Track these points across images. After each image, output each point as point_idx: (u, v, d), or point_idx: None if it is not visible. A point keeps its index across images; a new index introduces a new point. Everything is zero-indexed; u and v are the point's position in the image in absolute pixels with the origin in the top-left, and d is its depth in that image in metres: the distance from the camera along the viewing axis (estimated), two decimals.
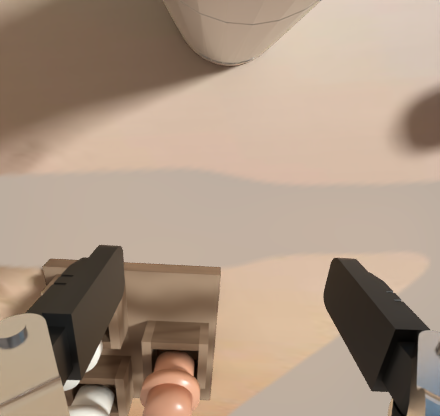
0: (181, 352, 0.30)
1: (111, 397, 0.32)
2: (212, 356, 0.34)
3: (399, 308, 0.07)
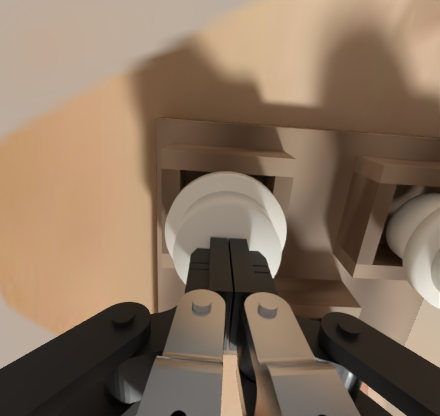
0: None
1: None
2: None
3: (252, 276, 0.08)
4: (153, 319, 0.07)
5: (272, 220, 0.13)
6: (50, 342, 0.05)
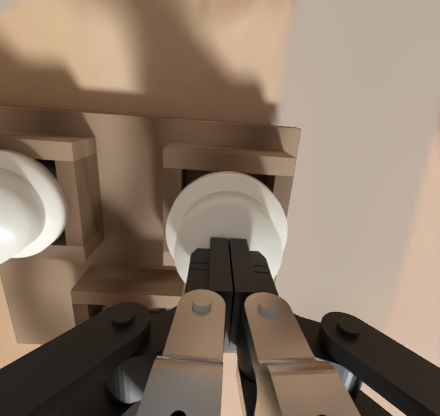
0: None
1: None
2: None
3: (252, 276, 0.08)
4: (153, 319, 0.07)
5: (40, 194, 0.14)
6: (50, 342, 0.05)
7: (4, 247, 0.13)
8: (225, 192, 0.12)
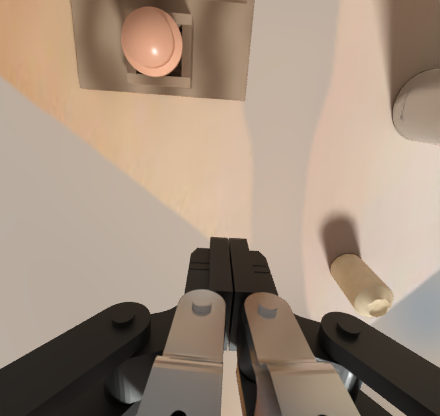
0: None
1: None
2: (148, 92, 0.34)
3: (252, 276, 0.08)
4: (153, 319, 0.07)
5: None
6: (50, 342, 0.05)
7: None
8: None
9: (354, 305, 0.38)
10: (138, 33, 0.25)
